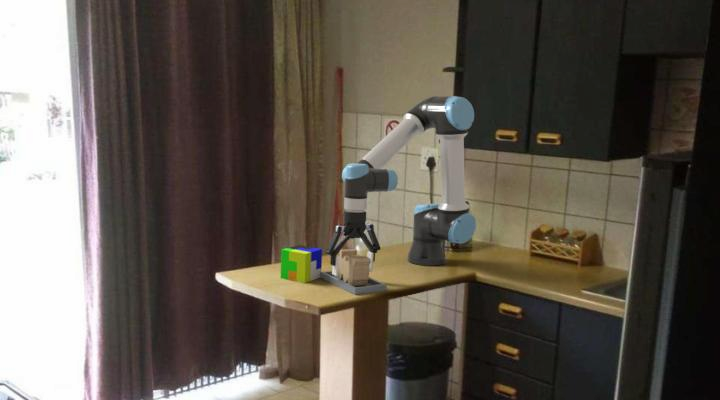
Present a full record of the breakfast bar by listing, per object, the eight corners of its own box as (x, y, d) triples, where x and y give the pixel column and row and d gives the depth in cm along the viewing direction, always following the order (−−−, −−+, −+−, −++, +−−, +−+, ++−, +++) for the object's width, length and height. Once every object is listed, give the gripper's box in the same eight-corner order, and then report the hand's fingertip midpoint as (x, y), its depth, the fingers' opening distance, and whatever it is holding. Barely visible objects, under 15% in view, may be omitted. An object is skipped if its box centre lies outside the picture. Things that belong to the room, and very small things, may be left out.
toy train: (351, 275, 222) (352, 247, 221) (369, 288, 207) (371, 258, 205) (336, 276, 220) (337, 248, 219) (353, 289, 205) (355, 259, 203)
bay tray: (320, 277, 220) (320, 271, 220) (349, 274, 226) (349, 268, 226) (354, 294, 201) (355, 288, 200) (386, 290, 207) (386, 284, 207)
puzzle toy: (321, 277, 221) (322, 249, 219) (304, 283, 212) (305, 253, 211) (297, 272, 226) (298, 245, 224) (280, 278, 217) (281, 249, 216)
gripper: (380, 207, 220) (377, 267, 223) (316, 210, 207) (314, 273, 209) (392, 210, 214) (389, 272, 216) (327, 213, 200) (325, 279, 203)
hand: (352, 273), depth 213 cm, fingers open, 13 cm apart
